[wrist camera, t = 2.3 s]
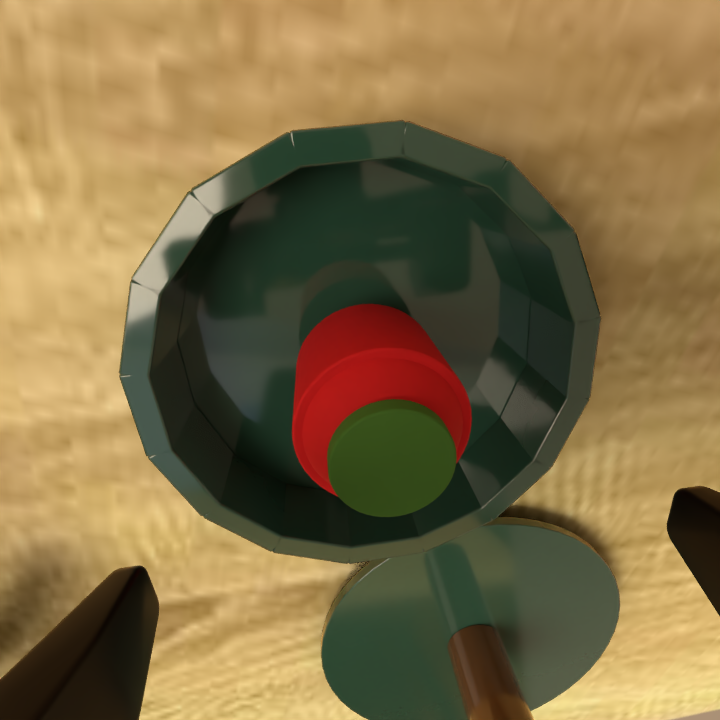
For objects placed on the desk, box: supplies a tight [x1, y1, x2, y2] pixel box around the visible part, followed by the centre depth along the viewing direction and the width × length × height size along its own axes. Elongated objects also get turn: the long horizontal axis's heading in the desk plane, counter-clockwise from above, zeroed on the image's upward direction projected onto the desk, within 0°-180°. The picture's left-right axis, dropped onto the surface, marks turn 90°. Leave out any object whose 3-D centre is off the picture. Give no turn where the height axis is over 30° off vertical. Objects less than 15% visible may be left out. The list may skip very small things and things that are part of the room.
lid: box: [321, 517, 620, 720], centre depth 20 cm, size 15×15×6 cm
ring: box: [119, 120, 601, 564], centre depth 14 cm, size 14×14×3 cm
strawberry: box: [292, 304, 472, 517], centre depth 13 cm, size 4×4×7 cm
